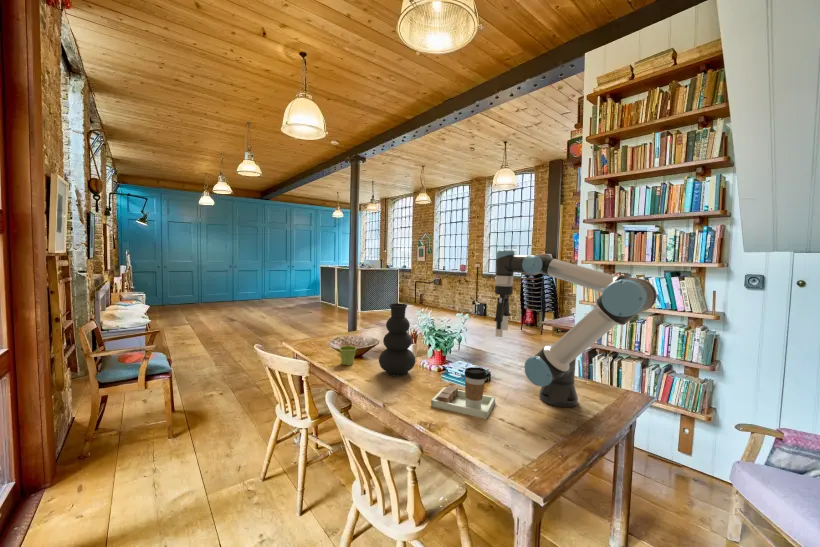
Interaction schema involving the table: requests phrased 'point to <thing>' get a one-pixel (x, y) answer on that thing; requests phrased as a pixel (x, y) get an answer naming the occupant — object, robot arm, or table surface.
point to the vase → (397, 343)
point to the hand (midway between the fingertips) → (501, 333)
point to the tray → (460, 405)
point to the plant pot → (347, 354)
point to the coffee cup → (474, 386)
